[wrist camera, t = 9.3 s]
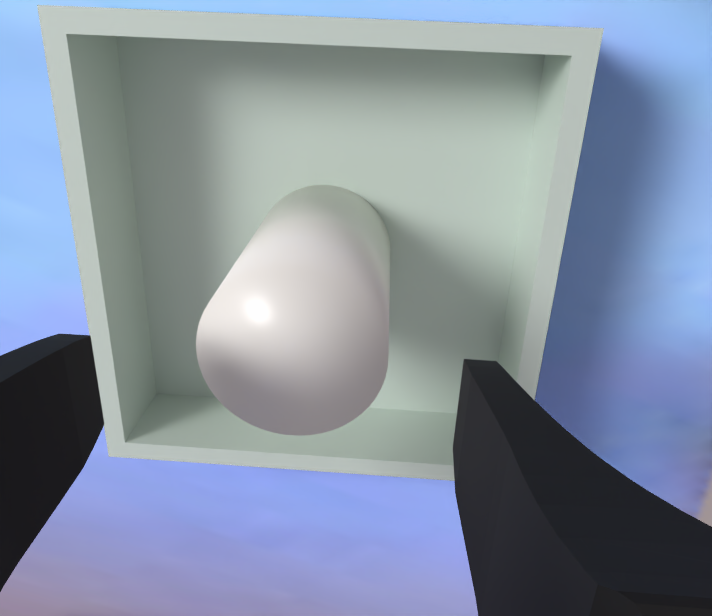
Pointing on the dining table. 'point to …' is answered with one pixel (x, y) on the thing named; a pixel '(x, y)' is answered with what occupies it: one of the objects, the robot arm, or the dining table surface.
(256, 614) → the dining table surface
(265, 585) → the dining table surface
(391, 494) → the dining table surface
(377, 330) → the white capsule cylinder
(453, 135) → the tote
